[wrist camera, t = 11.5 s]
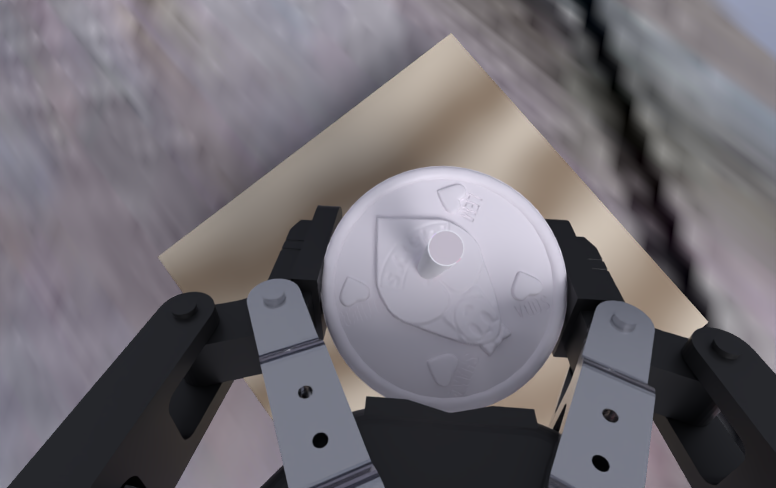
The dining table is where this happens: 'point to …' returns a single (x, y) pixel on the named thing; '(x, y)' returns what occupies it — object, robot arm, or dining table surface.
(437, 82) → the low wooden platform
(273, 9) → the dining table surface
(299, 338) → the robot arm
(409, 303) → the smoothie
